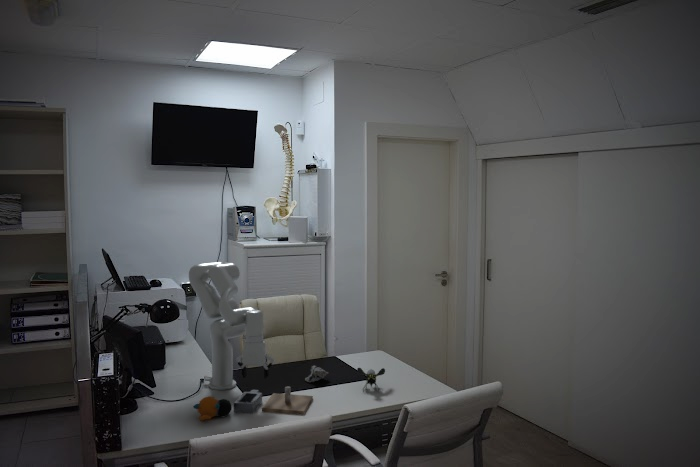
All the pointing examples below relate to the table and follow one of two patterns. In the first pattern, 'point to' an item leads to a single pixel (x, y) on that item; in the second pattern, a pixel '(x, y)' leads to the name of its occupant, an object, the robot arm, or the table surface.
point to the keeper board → (287, 403)
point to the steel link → (252, 397)
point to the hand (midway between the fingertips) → (255, 377)
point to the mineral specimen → (316, 374)
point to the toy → (213, 407)
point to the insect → (371, 376)
